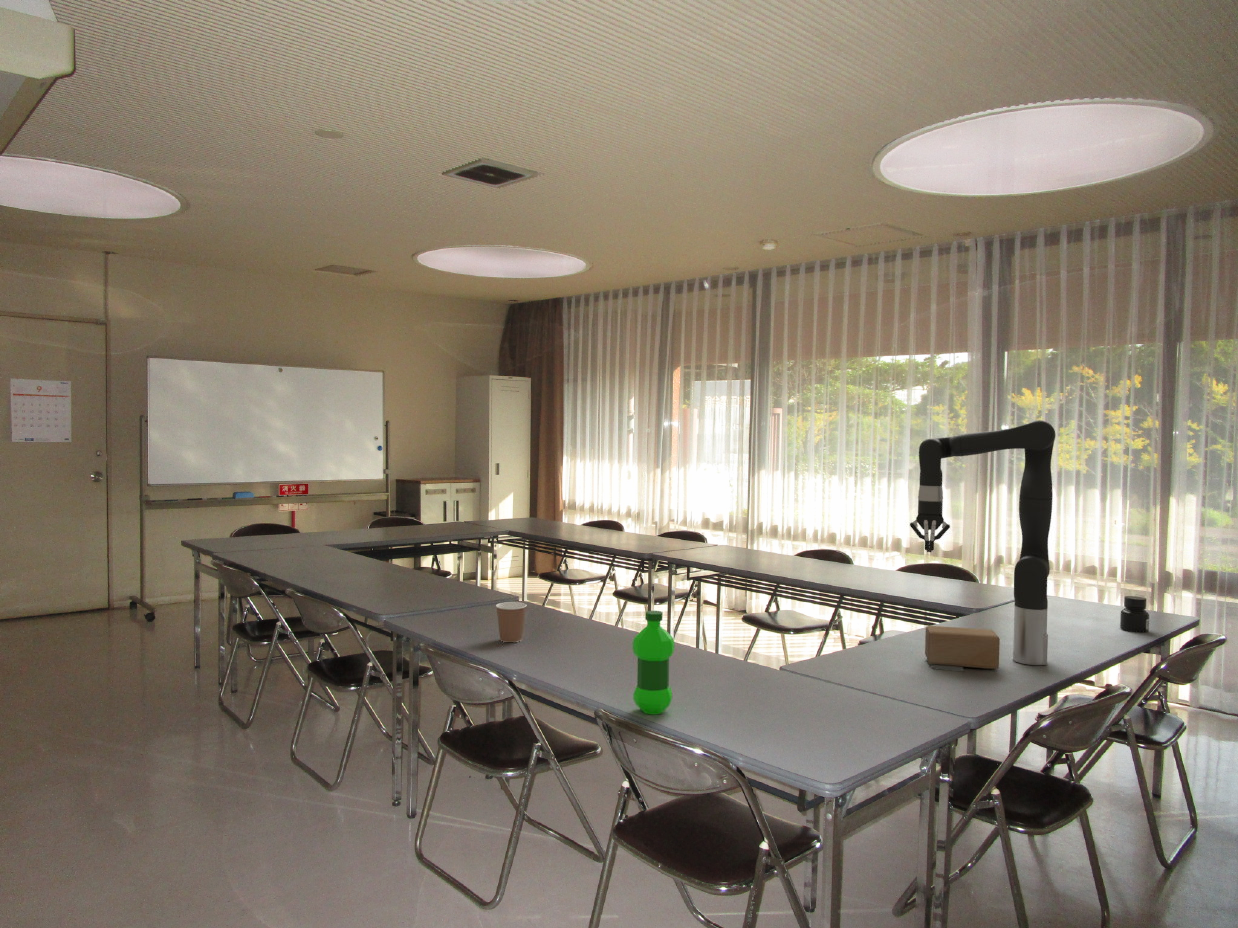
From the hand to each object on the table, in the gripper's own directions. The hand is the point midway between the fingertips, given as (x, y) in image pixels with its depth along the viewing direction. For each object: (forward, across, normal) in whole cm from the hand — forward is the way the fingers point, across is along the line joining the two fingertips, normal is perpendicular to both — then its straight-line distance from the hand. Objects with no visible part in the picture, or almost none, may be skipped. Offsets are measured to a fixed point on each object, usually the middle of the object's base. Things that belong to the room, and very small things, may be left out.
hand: (929, 551), depth 270 cm
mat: (+32, -6, +18) cm, 37 cm away
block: (+26, 0, +18) cm, 32 cm away
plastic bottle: (+32, +66, +92) cm, 118 cm away
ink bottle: (+32, -72, -57) cm, 97 cm away
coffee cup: (+32, +131, +43) cm, 142 cm away
